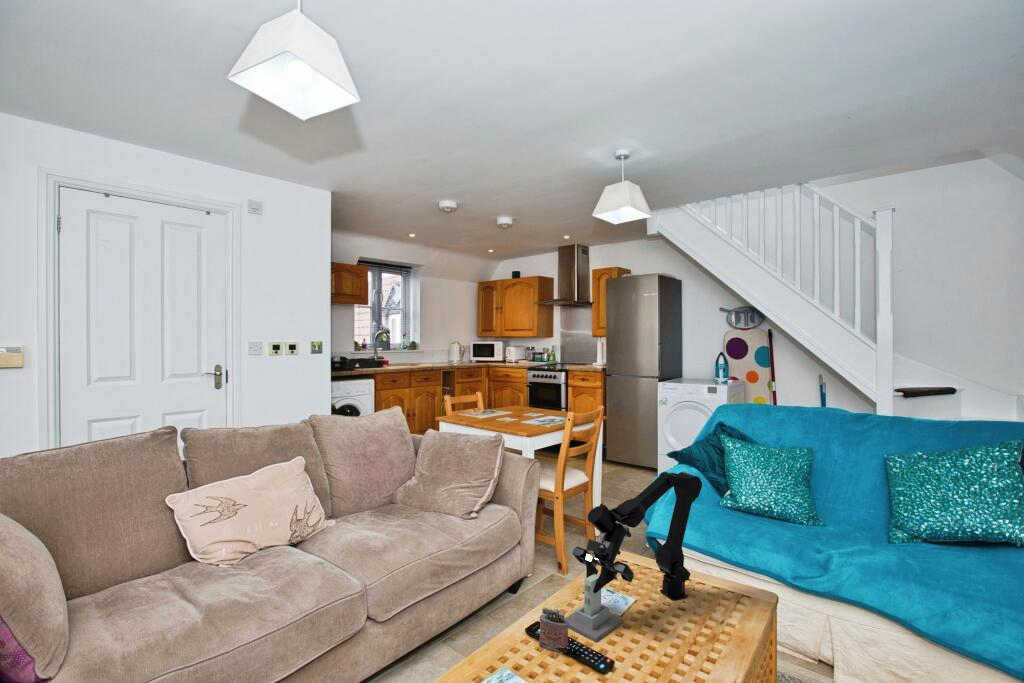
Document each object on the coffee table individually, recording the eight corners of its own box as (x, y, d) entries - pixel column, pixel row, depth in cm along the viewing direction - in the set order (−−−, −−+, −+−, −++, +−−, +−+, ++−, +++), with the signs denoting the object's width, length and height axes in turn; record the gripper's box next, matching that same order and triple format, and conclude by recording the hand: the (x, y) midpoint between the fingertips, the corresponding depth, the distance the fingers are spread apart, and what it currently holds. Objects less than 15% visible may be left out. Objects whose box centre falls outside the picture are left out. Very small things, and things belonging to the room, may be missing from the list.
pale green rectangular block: (600, 610, 144) (601, 576, 144) (589, 618, 140) (590, 582, 140) (594, 607, 145) (594, 573, 146) (582, 614, 141) (583, 579, 142)
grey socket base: (623, 622, 144) (623, 608, 144) (595, 642, 134) (595, 627, 134) (589, 606, 152) (589, 593, 152) (560, 624, 142) (561, 610, 142)
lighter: (570, 648, 131) (570, 610, 131) (566, 655, 128) (566, 616, 128) (541, 640, 134) (542, 603, 134) (537, 647, 131) (537, 609, 131)
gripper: (575, 519, 152) (552, 566, 144) (629, 536, 139) (606, 589, 131) (590, 538, 158) (568, 584, 150) (642, 556, 145) (622, 608, 137)
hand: (590, 590), depth 142 cm, fingers closed on pale green rectangular block, 2 cm apart
